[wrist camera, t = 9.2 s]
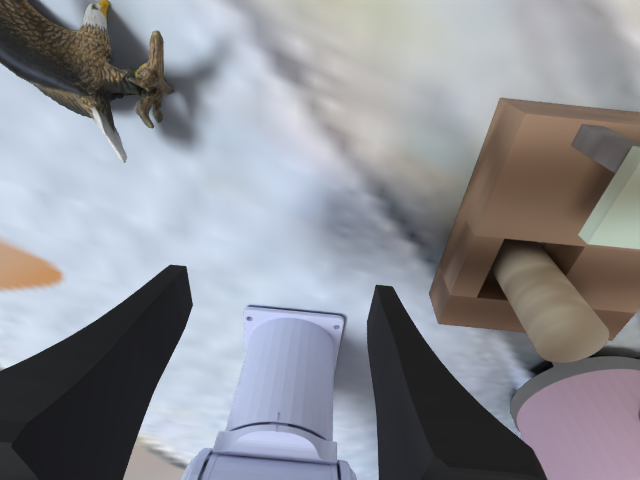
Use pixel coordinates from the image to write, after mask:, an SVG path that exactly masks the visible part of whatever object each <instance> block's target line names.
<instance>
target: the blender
mask: <svg viewBox="0 0 640 480" xmlns="http://www.w3.org/2000/svg"><path fill="white" fill-rule="evenodd" d="M552 364H553V366H554V367H553V368H551V369H549V370H546V371H544V372H542V373H540V374H539V375H537V376H535V377H533V378H532V379H530V380H529V381H528V382H526V383H525V384H524V385H523V386H522V387H521V388H520V389H519V390H518V391H517V392H516V393H515V395H514V396H513V398H512V400H511V403H510V412H511V415H512V418H513V420H514V422H515V425H516V427H517V429H518V431H519V432H520V433H521V436H522V438H523V441H524V442H525V443H526V444H527V445H529V446H530V447H531V448H532V449H533V450H534V452H535V454H536V456H537V458H538V460H539V462H540V463H541V466H542V468H543V470H544V472H545V475H546V477H547V479H548V480H640V358H639V359H634V358H629V357H619V356H604V357H593V358H584V359H581V360H578V361H574V362H567V363H556V362H552Z"/></svg>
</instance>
